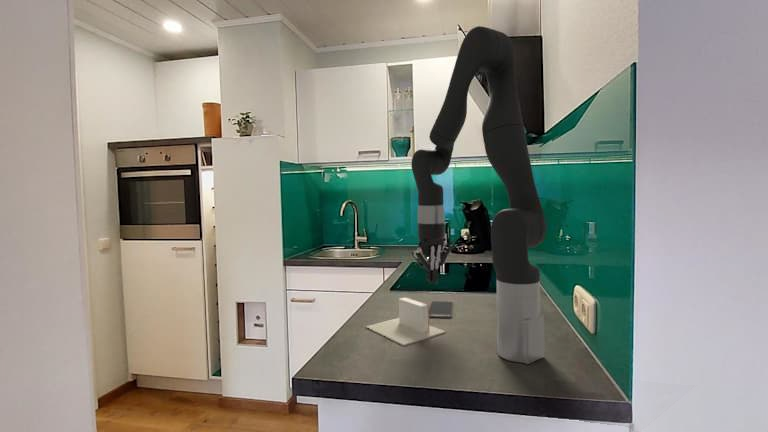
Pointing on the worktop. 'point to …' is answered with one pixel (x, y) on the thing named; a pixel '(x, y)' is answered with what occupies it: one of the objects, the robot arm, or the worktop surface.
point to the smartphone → (440, 309)
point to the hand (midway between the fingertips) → (431, 282)
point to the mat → (402, 332)
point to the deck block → (414, 314)
